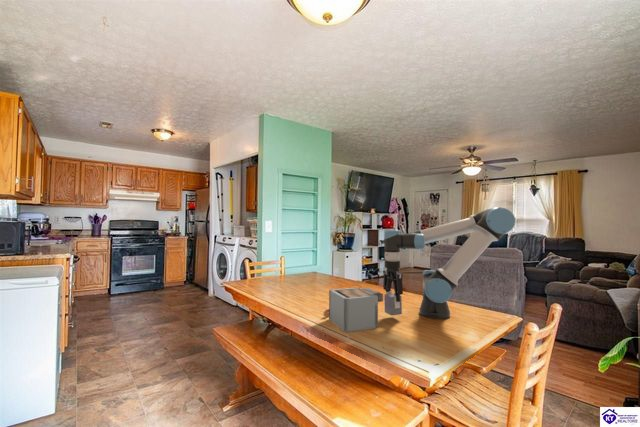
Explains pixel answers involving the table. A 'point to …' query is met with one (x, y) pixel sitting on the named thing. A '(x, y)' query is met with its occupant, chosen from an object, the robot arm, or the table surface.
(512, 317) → the table surface
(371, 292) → the trapdoor
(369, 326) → the grey box
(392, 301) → the basalt block
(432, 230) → the robot arm
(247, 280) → the table surface
